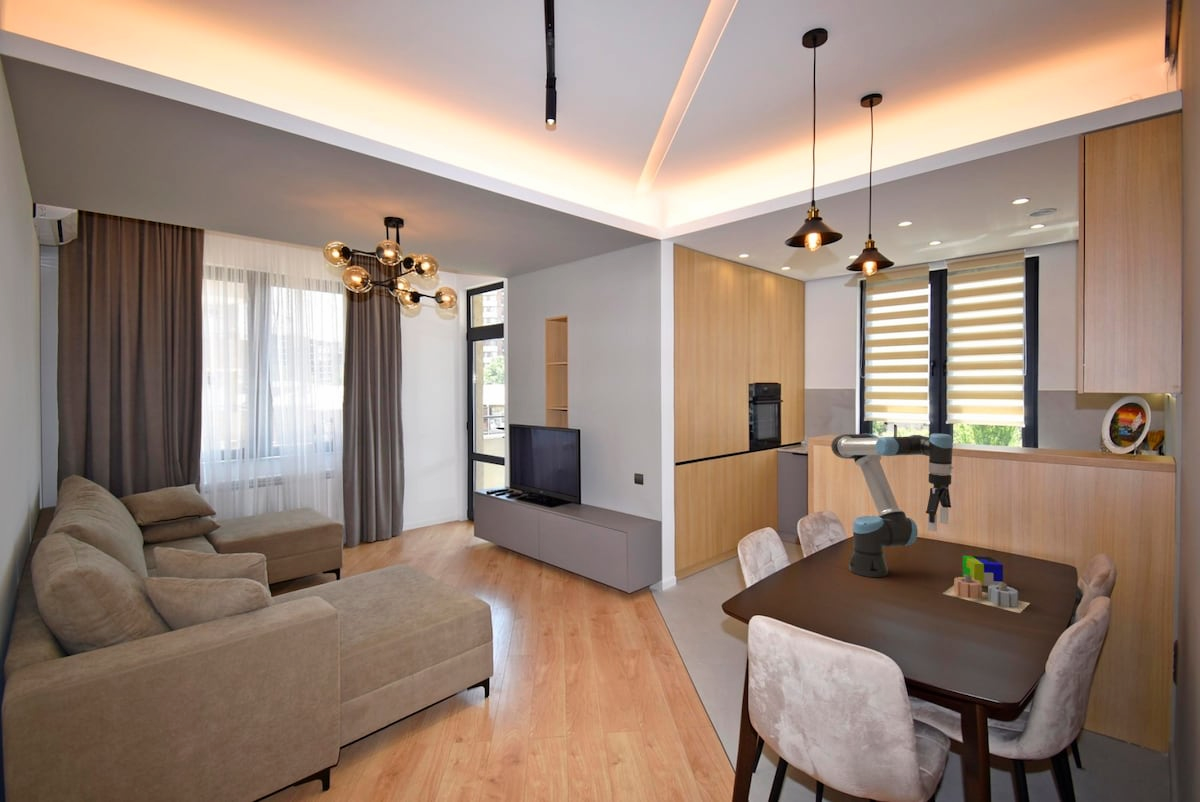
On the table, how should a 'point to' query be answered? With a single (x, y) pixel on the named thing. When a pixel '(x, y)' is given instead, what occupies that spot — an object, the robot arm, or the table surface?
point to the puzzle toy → (983, 569)
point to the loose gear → (967, 588)
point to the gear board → (984, 597)
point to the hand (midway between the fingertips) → (938, 527)
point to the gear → (1003, 596)
